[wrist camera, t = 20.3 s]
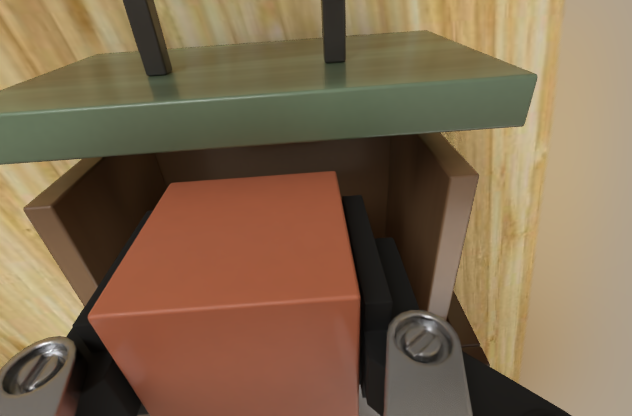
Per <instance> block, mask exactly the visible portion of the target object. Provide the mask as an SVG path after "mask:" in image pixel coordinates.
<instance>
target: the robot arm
mask: <svg viewBox="0 0 632 416" xmlns="http://www.w3.org/2000/svg"><path fill="white" fill-rule="evenodd" d="M342 205H343V210H344V215H345V220H346V225H347V230H348V235H349V241H350V246H351V251H352V256H353V261H354V266H355V271H356V276H357V281H358V286H359V291H360V297H361V298H360V360H359V385H361V392H362V398H366V400H367V405H368V406H370V407H371V408H372V409H373V410H375V411H376V412H377V413H378V414H379V415H380V416H571V415H569V414H568V413H567V412H565V411H563V410H562V409H560V408H558V407H557V406H555V405H553V404H552V403H550V402H548V401H547V400H545V399H543V398H542V397H540V396H538V395H536V394H535V393H533V392H531V391H530V390H528V389H526V388H525V387H523V386H521V385H520V384H518V383H516V382H514V381H513V380H511V379H509V378H508V377H506V376H504V375H503V374H501V373H499V372H498V371H496V370H494V369H492V368H491V367H489V366H487V365H486V364H484V363H482V362H481V361H479V360H477V359H476V358H474V357H472V356H470V355H469V354H467V353H465V352H464V351H462V349H461V343H460V340H459V337H458V334H457V332H456V331H455V330H454V328H453V327H452V326H451V324H450V323H448V322H447V321H446V320H445V319H443V318H442V317H440V316H438V315H436V314H434V313H432V312H428V311H423V310H420V309H419V306H418V304H417V301H416V298H415V295H414V293H413V290H412V287H411V284H410V282H409V279H408V276H407V273H406V271H405V268H404V265H403V262H402V260H401V257H400V254H399V252H398V249H397V246H396V243H395V241H394V239H393V238H392V237H387V238H374V236H373V232H372V229H371V226H370V222H369V219H368V215H367V212H366V208H365V205H364V202H363V198H362V195H353V196H343V197H342ZM152 212H153V210H150V211H147V212H146V213H145V215H144V216H143V218H142V219H141V221H140V223H139V224H138V226H137V227H136V229H135V230H134V232H133V233H132V235H131V236H130V238H129V239H128V241H127V243H126V244H125V246H124V247H123V249H122V250H121V252H120V253H119V255H118V256H117V258H116V259H115V261H114V263H113V264H112V266H111V267H110V269H109V270H108V272H107V273H106V275H105V276H104V278H103V279H102V281H101V283H100V284H99V286H98V287H97V289H96V290H95V292H94V293H93V295H92V296H91V298H90V300H89V301H88V303H87V304H86V306H85V307H84V309H83V310H82V312H81V313H80V315H79V316H78V318H77V320H76V321H75V323H74V324H73V328H72V329H71V331H70V332H69V334H68V335H67V337H61V336H58V337H50V338H46V339H43V340H40V341H38V342H35V343H33V344H32V345H30V346H28V347H26V348H24V349H23V350H21V351H20V352H19V353H17V354H16V355H15V356H13V357H12V358H11V359H10V360H9V361H8V362H7V363H6V364H5V365H4V366H3V367H2V369H1V370H0V416H137V415H144V414H149V413H148V412H147V410H146V408H145V407H144V405H143V404H142V402H141V401H140V399H139V398H138V396H137V395H136V393H135V391H134V390H133V388H132V387H131V385H130V384H129V382H128V381H127V379H126V378H125V376H124V374H123V373H122V371H121V370H120V368H119V367H118V365H117V364H116V362H115V361H114V359H113V358H112V356H111V354H110V353H109V351H108V350H107V348H106V347H105V345H104V344H103V342H102V341H101V339H100V337H99V336H98V334H97V333H96V331H95V330H94V328H93V327H92V325H91V324H90V322H89V320H88V314H89V313H90V311H91V309H92V308H93V306H94V305H95V303H96V301H97V300H98V298H99V297H100V295H101V293H102V292H103V290H104V289H105V287H106V285H107V284H108V282H109V281H110V279H111V277H112V276H113V274H114V273H115V271H116V269H117V268H118V266H119V265H120V263H121V261H122V260H123V258H124V257H125V255H126V253H127V252H128V250H129V249H130V247H131V245H132V244H133V242H134V241H135V239H136V237H137V236H138V234H139V233H140V231H141V229H142V228H143V226H144V225H145V223H146V221H147V220H148V218H149V217H150V215H151V213H152Z"/></svg>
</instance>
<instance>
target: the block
mask: <svg viewBox="0 0 632 416" xmlns="http://www.w3.org/2000/svg"><path fill="white" fill-rule="evenodd" d="M360 298H361V297H360V291H359V286H358V281H357V276H356V271H355V266H354V261H353V256H352V251H351V246H350V241H349V235H348V230H347V225H346V220H345V215H344V210H343V205H342V200H341V195H340V190H339V185H338V179H337V174H336V172H335V171H326V172H312V173H298V174H285V175H271V176H258V177H244V178H230V179H217V180H203V181H190V182H176V183H171V184H169V186H168V188H167V189H166V191H165V192H164V194H163V196H162V197H161V199H160V200H159V202H158V204H157V205H156V207H155V209H154V210H153V212H152V213H151V215H150V217H149V218H148V220H147V221H146V223H145V225H144V226H143V228H142V229H141V231H140V233H139V234H138V236H137V237H136V239H135V241H134V242H133V244H132V245H131V247H130V249H129V250H128V252H127V253H126V255H125V257H124V258H123V260H122V261H121V263H120V265H119V266H118V268H117V269H116V271H115V273H114V274H113V276H112V277H111V279H110V281H109V282H108V284H107V285H106V287H105V289H104V290H103V292H102V293H101V295H100V297H99V298H98V300H97V301H96V303H95V305H94V306H93V308H92V309H91V311H90V313H89V314H88V320H89V322H90V324H91V325H92V327H93V328H94V330H95V331H96V333H97V334H98V336H99V337H100V339H101V341H102V342H103V344H104V345H105V347H106V348H107V350H108V351H109V353H110V354H111V356H112V358H113V359H114V361H115V362H116V364H117V365H118V367H119V368H120V370H121V371H122V373H123V374H124V376H125V378H126V379H127V381H128V382H129V384H130V385H131V387H132V388H133V390H134V391H135V393H136V395H137V396H138V398H139V399H140V401H141V402H142V404H143V405H144V407H145V408H146V410H147V412H148V413H149V415H150V416H359V360H360Z"/></svg>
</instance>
